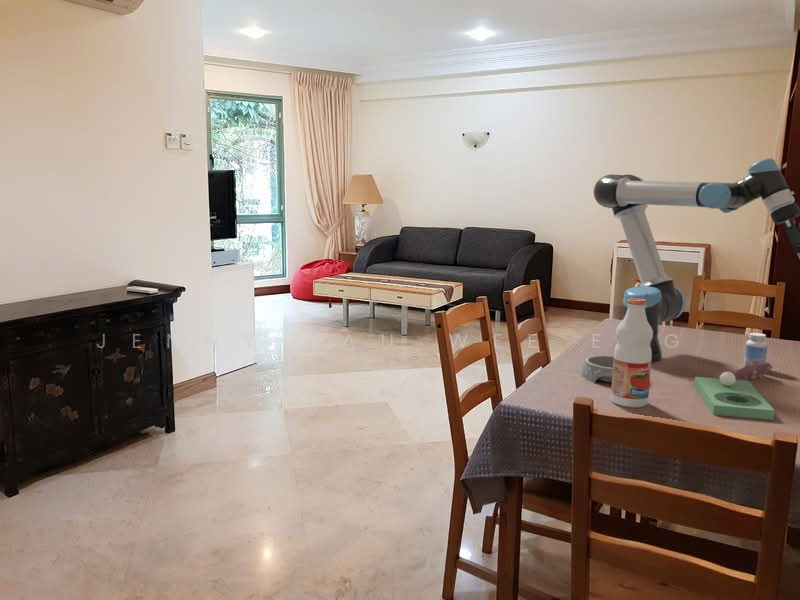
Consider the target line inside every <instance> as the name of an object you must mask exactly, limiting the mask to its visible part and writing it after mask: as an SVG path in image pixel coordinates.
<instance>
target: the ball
mask: <svg viewBox="0 0 800 600" xmlns="http://www.w3.org/2000/svg"><path fill="white" fill-rule="evenodd" d="M736 378H737V377H736V376H735V373H732V372H731V371H724V372H722V373H721V374H720V375H719V379H720V382H721V383H722V384H723V385H725V386H731V385H733V384H734V383H735V381H736V380H737V379H736Z"/></svg>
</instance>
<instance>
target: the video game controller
mask: <svg viewBox="0 0 800 600" xmlns="http://www.w3.org/2000/svg"><path fill="white" fill-rule="evenodd" d="M772 369H773V366H772V364H771V363H769V362H767V360H766V361H754V362H753V363H749V364H748V365H746V366H745V367H744V366H743V367H742V368H740V369H738V370H736V372H735V373H734V376H735V378H737V379H743V378H746V377H748V378H749V380H753V379H755V378H757V379H761V378H762V377H764V376H765V375H766V374H768V373H769V372H770V371H771V370H772ZM760 377H761V378H760Z"/></svg>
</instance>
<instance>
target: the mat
mask: <svg viewBox="0 0 800 600" xmlns="http://www.w3.org/2000/svg"><path fill="white" fill-rule="evenodd" d="M693 384H694V386H695V388H696V390H697V391H698V393H699V395H700V396H701V398H702V399H703V401H704V403H705V405H706V406H707V407H708V409H709V410H710V412H711V414H712V415H714V416H722V417H723V416H725V417H734V418H735V417H736V418H747V419H759V420H769V421H770V420H771V421H774V420H775V414H776V410H775V408H773V406H771V404H770V403H769V402H768V401H767V400H766V399H765V398H764V397H763V395H762V394H761V393H759V391H758V390H757V389H756V388H755V387H754V386H753V385H752V384H751V383H750V382H749V381H748V380H741V379H740V380H739V379H736V381H735V383H734V384H733V385H731V386H725V385H723V384H722V383H721V382H720V378H716V377H715V378H714V377H701V376H695V377H694V383H693Z"/></svg>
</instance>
